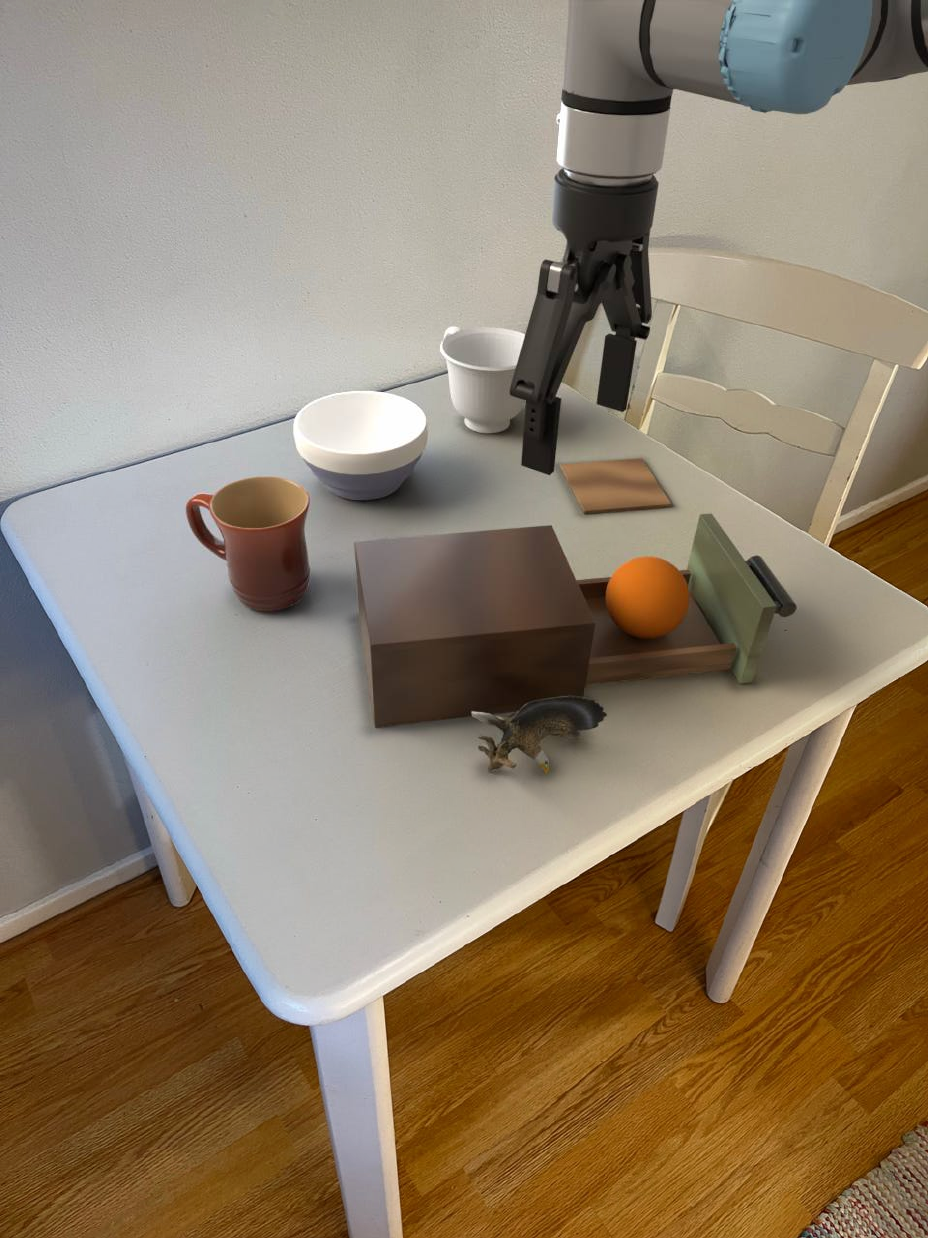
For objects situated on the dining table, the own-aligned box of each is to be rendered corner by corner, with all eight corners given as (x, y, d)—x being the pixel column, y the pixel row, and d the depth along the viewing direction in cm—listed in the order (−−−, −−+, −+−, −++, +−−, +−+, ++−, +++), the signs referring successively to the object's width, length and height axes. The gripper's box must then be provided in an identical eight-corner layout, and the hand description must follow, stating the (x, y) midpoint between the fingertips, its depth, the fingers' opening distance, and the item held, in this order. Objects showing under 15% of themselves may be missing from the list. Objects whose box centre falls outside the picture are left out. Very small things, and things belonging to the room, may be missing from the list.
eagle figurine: (537, 811, 66) (623, 740, 69) (494, 731, 63) (586, 662, 67) (486, 787, 72) (567, 723, 76) (446, 714, 70) (532, 652, 74)
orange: (693, 651, 79) (710, 586, 74) (614, 659, 78) (626, 594, 73) (664, 600, 84) (678, 536, 79) (590, 607, 83) (600, 543, 78)
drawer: (735, 582, 89) (755, 509, 83) (798, 677, 79) (826, 600, 73) (523, 603, 85) (529, 528, 80) (560, 704, 75) (570, 627, 70)
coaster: (671, 506, 99) (671, 503, 99) (584, 513, 98) (584, 510, 97) (641, 460, 107) (641, 457, 106) (560, 466, 105) (560, 463, 105)
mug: (333, 575, 88) (326, 486, 82) (293, 630, 82) (281, 538, 75) (225, 550, 91) (209, 462, 84) (178, 602, 85) (156, 510, 78)
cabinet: (543, 602, 86) (551, 524, 80) (583, 703, 76) (595, 622, 70) (359, 620, 83) (354, 541, 77) (374, 727, 73) (370, 645, 67)
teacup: (482, 384, 121) (485, 311, 115) (554, 429, 112) (562, 352, 106) (408, 407, 116) (406, 332, 109) (477, 456, 107) (480, 377, 100)
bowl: (279, 505, 97) (270, 443, 93) (325, 441, 108) (321, 382, 103) (407, 526, 95) (406, 463, 90) (442, 458, 106) (442, 399, 101)
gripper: (634, 132, 74) (602, 374, 88) (468, 201, 58) (461, 483, 72) (720, 146, 71) (674, 395, 85) (570, 223, 55) (542, 514, 69)
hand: (576, 436), depth 78 cm, fingers open, 13 cm apart
